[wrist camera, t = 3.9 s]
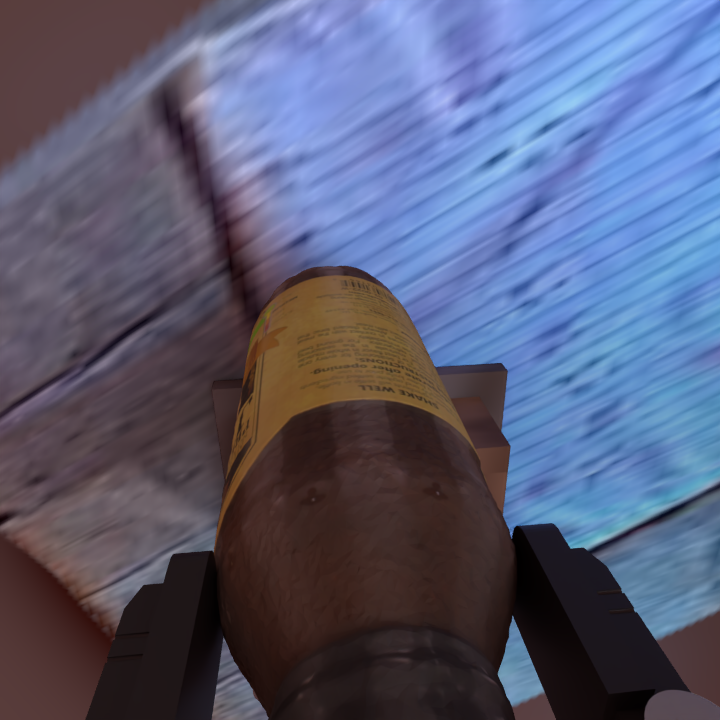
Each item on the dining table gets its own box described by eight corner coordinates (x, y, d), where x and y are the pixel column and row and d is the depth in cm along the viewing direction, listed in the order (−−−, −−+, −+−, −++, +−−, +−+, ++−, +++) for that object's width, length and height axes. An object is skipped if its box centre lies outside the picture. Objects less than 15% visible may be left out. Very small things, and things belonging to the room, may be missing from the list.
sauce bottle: (230, 285, 21) (-152, 1253, 3) (387, 239, 21) (875, 991, 3) (284, 422, 24) (233, 1366, 6) (423, 382, 24) (797, 1227, 6)
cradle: (501, 363, 32) (544, 416, 26) (482, 552, 37) (514, 627, 32) (214, 381, 30) (196, 441, 25) (241, 574, 36) (232, 657, 30)
